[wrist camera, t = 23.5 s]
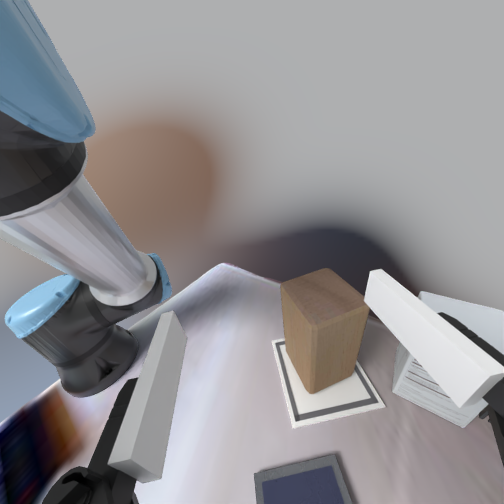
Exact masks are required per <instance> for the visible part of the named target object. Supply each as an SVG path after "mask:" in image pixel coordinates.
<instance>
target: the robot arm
mask: <svg viewBox="0 0 504 504" xmlns="http://www.w3.org/2000/svg"><path fill="white" fill-rule="evenodd" d="M94 133H95V123H94V120H93V117H92V115H91V113H90V111H89V109H88V107H87V105H86V103H85V101H84V99H83V97H82V95H81V93H80V91H79V89H78V87H77V85H76V84H75V82H74V80H73V78H72V76H71V75H70V74H69V72H68V70H67V68H66V66H65V65H64V63H63V61H62V59H61V58H60V56H59V54H58V53H57V51H56V49H55V47H54V45H53V43H52V41H51V39H50V37H49V36H48V34H47V32H46V30H45V29H44V27H43V25H42V24H41V22H40V20H39V19H38V17H37V15H36V14H35V12H34V10H33V9H32V7H31V5H30V3H29V2H28V0H0V239H2V240H4V241H5V242H8V243H9V244H11V245H13V246H15V247H17V248H19V249H21V250H23V251H25V252H27V253H28V254H31V255H32V256H34V257H36V258H38V259H40V260H42V261H44V262H46V263H48V264H49V265H51V266H53V267H55V268H57V269H59V270H61V271H63V272H65V273H67V274H64V275H61V276H58V277H56V278H53V279H51V280H49V281H47V282H45V283H43V284H41V285H39V286H37V287H36V288H34V289H32V290H31V291H29V292H28V293H27V294H25V295H24V296H23V297H21V298H20V299H19V300H18V301H17V302H15V303H14V304H13V305H12V306H11V307H10V309H9V310H8V311H7V313H6V315H5V323H6V325H7V326H8V327H9V328H10V329H11V330H12V331H13V332H14V333H15V334H16V336H17V338H21V339H22V340H23V341H24V342H26V343H27V344H28V345H30V346H31V347H32V348H33V349H35V350H36V351H37V352H38V353H40V354H41V355H42V356H43V357H45V358H46V359H47V360H48V361H49V362H51V363H52V364H53V365H54V366H56V368H57V371H58V374H59V376H60V379H61V384H62V387H63V388H64V390H65V391H67V392H68V393H69V394H71V395H72V396H74V397H87V396H91V395H93V394H96V393H98V392H100V391H102V390H104V389H105V388H107V387H108V386H110V385H111V384H113V383H114V382H115V381H116V380H117V379H119V378H120V377H121V376H122V375H123V374H124V373H125V371H126V370H127V369H128V368H129V366H130V365H131V364H132V362H133V360H134V359H135V356H136V354H137V351H138V341H137V339H136V338H135V336H134V335H133V334H132V333H131V332H130V331H128V330H125V329H124V328H122V327H120V326H118V325H116V323H117V322H119V321H122V320H124V319H126V318H128V317H130V316H132V315H134V314H137V313H139V312H141V311H143V310H145V309H147V308H150V307H152V306H154V305H156V304H159V303H161V302H162V301H164V300H166V299H167V298H169V297H170V296H171V294H172V288H171V284H170V282H169V278H168V275H167V272H166V270H165V268H164V265H163V263H162V261H161V259H160V257H159V256H158V255H157V254H155V253H152V254H145V253H142V252H140V251H136V250H135V248H134V247H133V246H132V244H131V243H130V241H129V240H128V238H127V237H126V236H125V234H124V233H123V232H122V230H121V228H120V227H119V226H118V224H117V223H116V221H115V220H114V218H113V217H112V215H111V214H110V213H109V211H108V210H107V208H106V207H105V206H104V204H103V203H102V201H101V200H100V199H99V197H98V196H97V194H96V193H95V191H94V190H93V188H92V187H91V185H90V184H89V183H88V181H87V180H86V178H85V177H84V175H83V172H84V170H85V168H86V164H87V159H88V153H87V149H86V146H85V144H84V140H85V139H86V138H87V137H90V136H92V135H93V134H94ZM364 302H365V303H366V304H367V305H368V306H369V307H370V308H371V310H373V312H374V313H375V314H376V315H377V316H378V317H379V319H380V320H381V321H382V322H383V323H384V324H385V325H386V326H387V328H388V329H389V330H390V331H391V332H392V333H393V334H394V335H395V337H396V338H397V339H398V340H399V341H400V342H401V343H402V344H403V346H404V347H405V348H406V349H407V350H408V351H409V352H410V353H411V355H412V356H413V357H414V358H415V359H416V360H417V361H418V362H419V363H420V365H421V366H422V367H423V368H424V369H425V370H426V371H427V372H428V374H429V375H430V376H431V377H432V378H433V379H434V380H435V381H436V383H437V384H438V385H439V386H440V387H441V388H442V389H443V390H444V392H445V393H446V394H447V395H448V396H449V397H450V398H451V399H452V401H453V402H454V403H455V404H456V405H457V406H458V407H459V408H463V407H467V406H472V405H476V404H477V403H478V402H479V401H480V400H481V399H482V398H483V399H484V400H485V401H486V402H487V403H488V405H487V406H486V407H485V408H484V409H483V410H482V411H481V412H479V418H481V419H484V418H485V417H486V416H487V415H489V418H490V419H489V420H488V422H490V423H491V425H492V428H493V431H494V435H495V438H496V442H497V445H498V449H499V452H500V456H501V459H502V462H503V466H504V355H503V354H502V353H501V352H499V351H498V350H497V349H495V348H494V347H493V346H491V345H490V344H489V343H487V342H486V341H485V340H483V339H482V338H481V337H478V335H477V334H476V333H474V332H473V331H472V330H469V329H468V327H466V326H465V325H464V324H462V323H461V322H460V321H458V320H457V319H455V318H453V317H451V316H449V315H447V314H445V313H443V312H440V313H436V312H435V311H433V310H432V309H431V308H430V307H428V306H427V305H426V304H424V303H423V302H422V301H421V300H419V299H418V298H417V297H415V296H414V295H413V294H412V293H410V292H409V291H408V290H407V289H406V288H404V287H403V286H402V285H401V284H399V283H398V282H397V281H396V280H394V279H393V278H392V277H391V276H389V275H388V274H387V273H385V272H384V271H383V270H382V269H379V270H374V271H370V275H369V280H368V284H367V289H366V293H365V298H364ZM186 342H187V336H186V334H185V332H184V330H183V328H182V326H181V324H180V322H179V320H178V318H177V316H176V314H175V312H174V311H170V312H165V313H162V314H161V317H160V319H159V322H158V325H157V328H156V330H155V333H154V336H153V339H152V342H151V344H150V347H149V350H148V353H147V355H146V358H145V361H144V364H143V367H142V369H141V372H140V375H139V378H134V379H129V380H128V381H127V382H126V383H125V385H124V386H123V388H122V389H121V390H120V392H119V394H118V396H117V399H116V401H115V403H114V408H112V411H111V413H110V415H109V420H107V423H106V425H105V427H104V430H103V432H102V435H101V437H100V439H99V442H98V444H97V447H96V449H95V451H94V454H93V456H92V459H91V461H90V463H89V466H88V468H85V467H81V466H78V467H76V468H73V469H71V470H69V471H68V472H67V473H65V474H64V475H63V476H61V478H60V479H59V480H58V481H57V482H56V483H55V484H54V485H53V486H52V488H51V489H50V491H49V492H48V494H47V495H46V497H45V498H44V500H43V502H42V504H139V503H138V500H137V497H136V494H135V493H134V488H135V484H136V480H137V481H139V482H141V483H147V482H151V481H155V480H159V479H161V478H162V473H163V467H164V462H165V456H166V451H167V445H168V440H169V434H170V429H171V424H172V418H173V413H174V407H175V402H176V396H177V391H178V385H179V380H180V375H181V369H182V364H183V358H184V353H185V347H186Z"/></svg>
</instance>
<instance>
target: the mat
mask: <svg viewBox="0 0 504 504" xmlns="http://www.w3.org/2000/svg"><path fill="white" fill-rule="evenodd" d="M272 346H273V350H274V354H275V358H276V362H277V366H278V370H279V374H280V378H281V382H282V387H283V391H284V395H285V399H286V403H287V407H288V411H289V415H290V419H291V423H292V427H293V429H295V428H300V427H304V426H308V425H313V424H317V423H321V422H326V421H330V420H334V419H338V418H343V417H347V416H351V415H356V414H360V413H364V412H369V411H373V410H377V409H381V408H385V407H386V406H385V405H384V403H383V402H382V400H381V398H380V397H379V395H378V393H377V392H376V390H375V389H374V387H373V385H372V384H371V382H370V380H369V379H368V377H367V376H366V374H365V372H364V371H363V369H362V367H361V366H360V364H359V363H358V361H356V365H355V368H354V372H353V374H352V376H350V377H348V378H346V379H344V380H342V381H340V382H337V383H335V384H333V385H331V386H329V387H327V388H325V389H323V390H321V391H319V392H317V393H315V394H309V393H308V392H307V391H306V390H305V388H304V386H303V384H302V382H301V380H300V378H299V376H298V374H297V372H296V370H295V368H294V366H293V364H292V362H291V360H290V358H289V356H288V354H287V352H286V347H285V338H284V339H279V340H274V341H272Z"/></svg>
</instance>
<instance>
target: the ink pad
mask: <svg viewBox="0 0 504 504" xmlns="http://www.w3.org/2000/svg"><path fill="white" fill-rule="evenodd" d="M254 480H255V491H256V502H257V504H352V501H351V498H350V495H349V493H348V490H347V487H346V484H345V481H344V479H343V476H342V473H341V470H340V468H339V465H338V462H337V459H336V456H335V454H333V455H329V456H325V457H321V458H317V459H313V460H308V461H304V462H300V463H296V464H292V465H288V466H284V467H279V468H275V469H271V470H267V471H263V472H259V473H254Z"/></svg>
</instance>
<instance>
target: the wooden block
mask: <svg viewBox="0 0 504 504" xmlns="http://www.w3.org/2000/svg"><path fill="white" fill-rule="evenodd" d="M280 288H281V300H282V312H283V324H284V335H285V347H286V352H287V354H288V356H289V358H290V360H291V362H292V364H293V366H294V368H295V370H296V372H297V374H298V376H299V378H300V380H301V382H302V384H303V386H304V388H305V390H306V391H307V392H308V393H309V394H315V393H317V392H319V391H321V390H323V389H325V388H327V387H329V386H331V385H333V384H335V383H337V382H340V381H342V380H344V379H346V378H348V377H350V376H352V374H353V372H354V368H355V365H356V361H357V357H358V353H359V349H360V345H361V341H362V337H363V333H364V330H365V326H366V322H367V318H368V314H369V310H370V307H369V306H368V305H367V304H366V303H365V302H364V298H365V297H364V296H363V295H362V294H360V293H359V292H358V291H356V290H355V289H354V288H353V287H352V286H350V285H349V284H348V283H347V282H345V281H344V280H343V279H342V278H341V277H339V276H338V275H337V274H336V273H335V272H333V271H332V270H331V269H328V268H324V269H321V270H318V271H315V272H312V273H309V274H306V275H303V276H300V277H297V278H294V279H291V280H288V281H285V282H283V283H282V284H281V286H280Z"/></svg>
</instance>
